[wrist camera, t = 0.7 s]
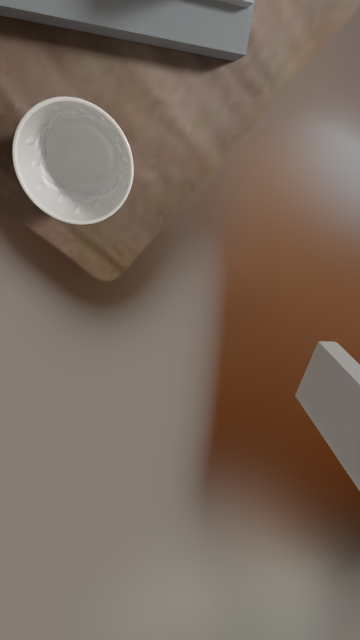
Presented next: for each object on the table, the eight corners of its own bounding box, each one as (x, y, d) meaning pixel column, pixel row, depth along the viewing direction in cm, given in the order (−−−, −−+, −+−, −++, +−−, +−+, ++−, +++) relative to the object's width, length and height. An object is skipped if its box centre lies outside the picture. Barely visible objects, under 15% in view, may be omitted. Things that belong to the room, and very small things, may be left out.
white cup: (40, 191, 32) (14, 215, 23) (39, 95, 28) (8, 81, 19) (122, 205, 34) (126, 232, 25) (132, 117, 30) (140, 113, 21)
